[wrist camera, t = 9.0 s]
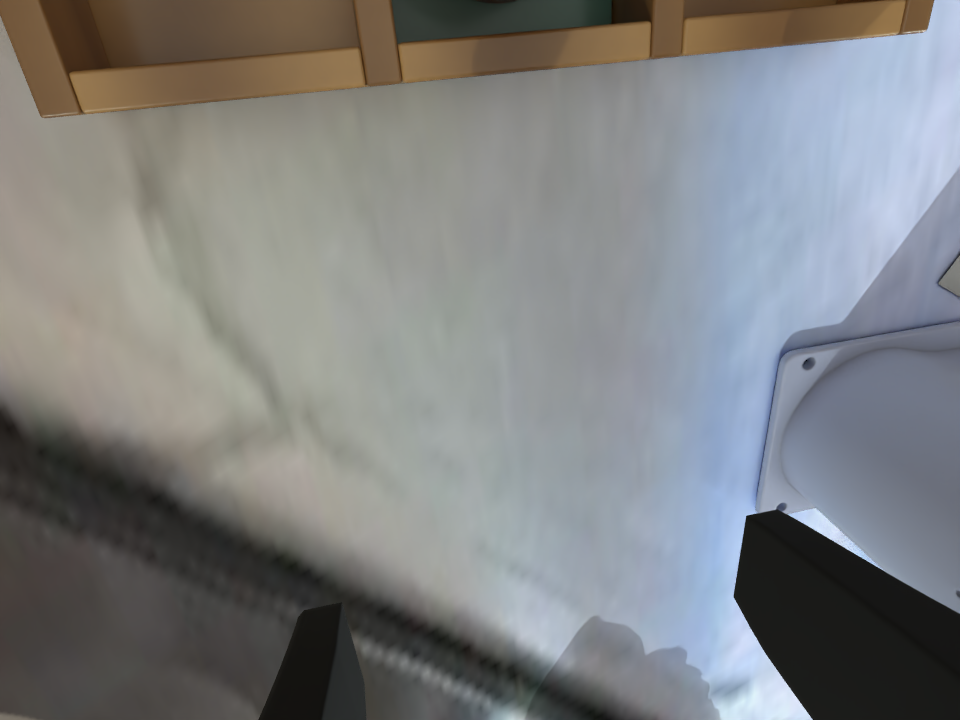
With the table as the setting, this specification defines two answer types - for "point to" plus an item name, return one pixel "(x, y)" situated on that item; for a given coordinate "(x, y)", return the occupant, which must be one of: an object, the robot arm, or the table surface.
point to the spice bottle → (496, 1)
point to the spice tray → (385, 41)
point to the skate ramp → (952, 278)
